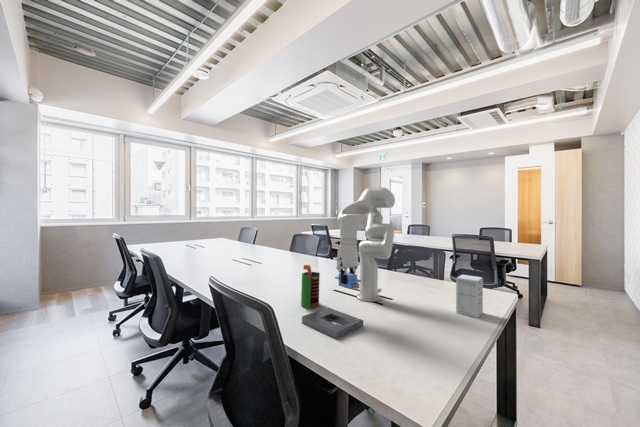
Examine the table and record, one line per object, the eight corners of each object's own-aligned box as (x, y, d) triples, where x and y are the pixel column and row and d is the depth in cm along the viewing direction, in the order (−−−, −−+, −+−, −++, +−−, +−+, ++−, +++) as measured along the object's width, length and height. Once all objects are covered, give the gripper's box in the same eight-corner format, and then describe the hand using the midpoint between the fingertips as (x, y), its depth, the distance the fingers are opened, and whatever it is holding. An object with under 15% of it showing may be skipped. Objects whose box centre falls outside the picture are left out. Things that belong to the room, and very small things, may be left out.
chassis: (328, 313, 127) (328, 307, 127) (363, 326, 113) (363, 320, 113) (301, 322, 116) (302, 316, 116) (336, 339, 102) (336, 331, 102)
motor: (316, 309, 132) (317, 267, 132) (298, 307, 134) (299, 266, 134) (320, 302, 142) (321, 263, 142) (304, 301, 144) (304, 263, 144)
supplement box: (483, 312, 130) (483, 277, 130) (478, 318, 123) (478, 280, 123) (461, 307, 137) (461, 274, 137) (455, 312, 130) (455, 277, 130)
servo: (341, 283, 130) (341, 270, 129) (361, 288, 121) (361, 274, 121) (334, 284, 126) (335, 272, 126) (354, 290, 118) (354, 276, 118)
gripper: (353, 240, 132) (353, 278, 132) (329, 242, 121) (328, 284, 121) (366, 241, 127) (365, 281, 127) (342, 243, 115) (341, 287, 115)
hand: (347, 282), depth 124 cm, fingers closed on servo, 4 cm apart
